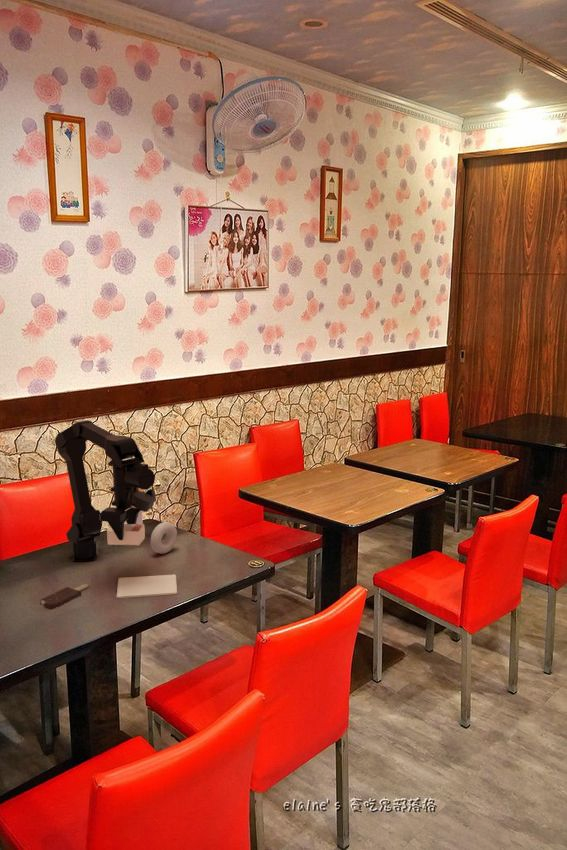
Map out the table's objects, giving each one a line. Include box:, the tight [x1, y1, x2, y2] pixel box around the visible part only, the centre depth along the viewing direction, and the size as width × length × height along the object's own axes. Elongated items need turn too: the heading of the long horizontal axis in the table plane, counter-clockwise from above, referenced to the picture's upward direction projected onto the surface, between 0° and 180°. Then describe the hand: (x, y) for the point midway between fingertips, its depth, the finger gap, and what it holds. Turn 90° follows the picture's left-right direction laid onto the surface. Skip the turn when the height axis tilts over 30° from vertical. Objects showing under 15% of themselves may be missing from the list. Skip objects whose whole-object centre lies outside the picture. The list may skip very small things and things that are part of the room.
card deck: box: [106, 523, 146, 546], centre depth 201 cm, size 9×6×4 cm, turn 86°
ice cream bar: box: [39, 583, 89, 610], centre depth 190 cm, size 5×2×15 cm
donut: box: [149, 521, 178, 555], centre depth 220 cm, size 10×4×10 cm, turn 143°
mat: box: [116, 574, 178, 599], centre depth 197 cm, size 16×12×1 cm
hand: (126, 535), depth 201 cm, fingers closed on card deck, 6 cm apart
